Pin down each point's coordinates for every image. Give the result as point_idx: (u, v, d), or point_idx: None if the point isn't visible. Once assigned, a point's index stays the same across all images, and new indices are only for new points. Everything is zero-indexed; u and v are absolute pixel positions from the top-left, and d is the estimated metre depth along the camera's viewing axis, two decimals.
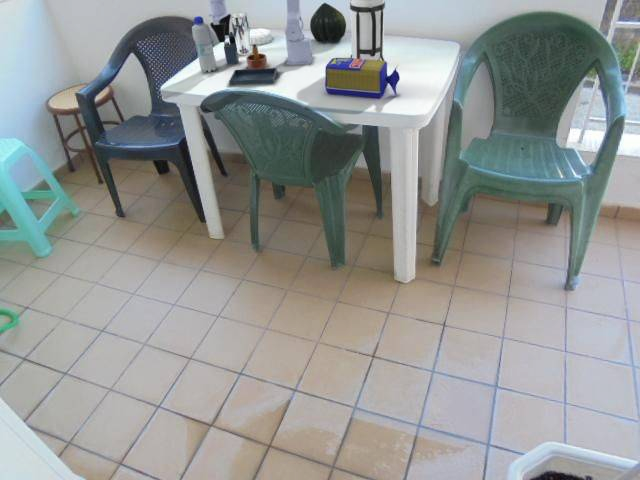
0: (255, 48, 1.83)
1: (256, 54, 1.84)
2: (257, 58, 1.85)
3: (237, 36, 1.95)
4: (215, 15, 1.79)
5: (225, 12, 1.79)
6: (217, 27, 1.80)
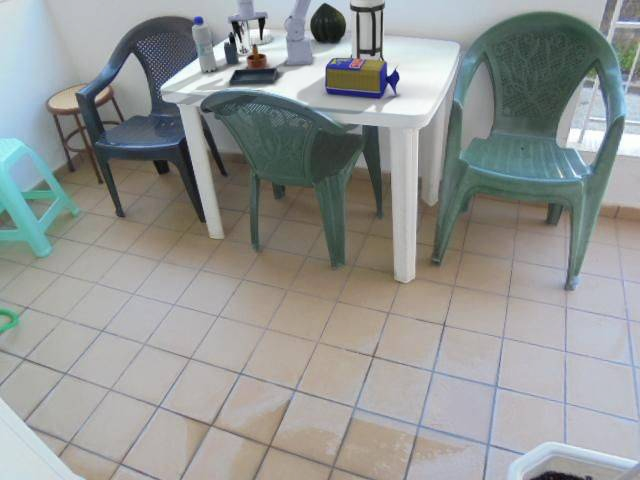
0: (255, 48, 1.83)
1: (256, 54, 1.84)
2: (257, 58, 1.85)
3: (237, 36, 1.95)
4: None
5: (244, 16, 1.74)
6: None
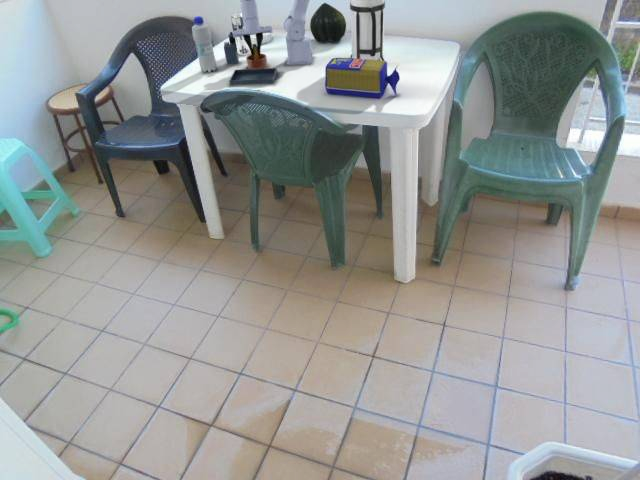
0: (255, 48, 1.83)
1: (256, 54, 1.84)
2: (257, 58, 1.85)
3: None
4: None
5: (249, 30, 1.77)
6: None
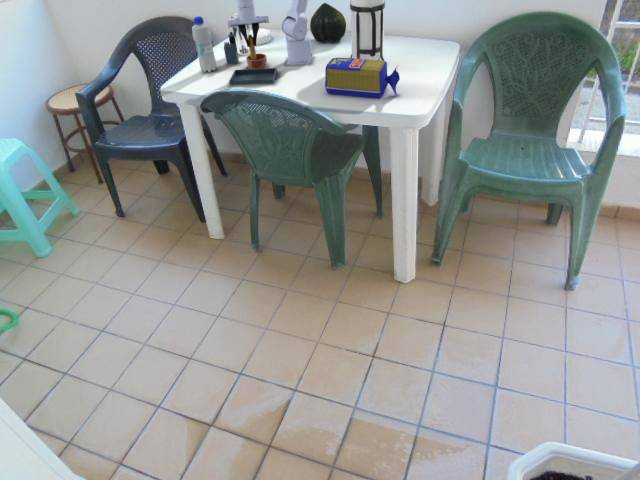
0: (251, 39, 1.75)
1: (252, 45, 1.76)
2: (253, 49, 1.77)
3: (237, 36, 1.95)
4: (239, 19, 1.72)
5: (244, 20, 1.69)
6: None
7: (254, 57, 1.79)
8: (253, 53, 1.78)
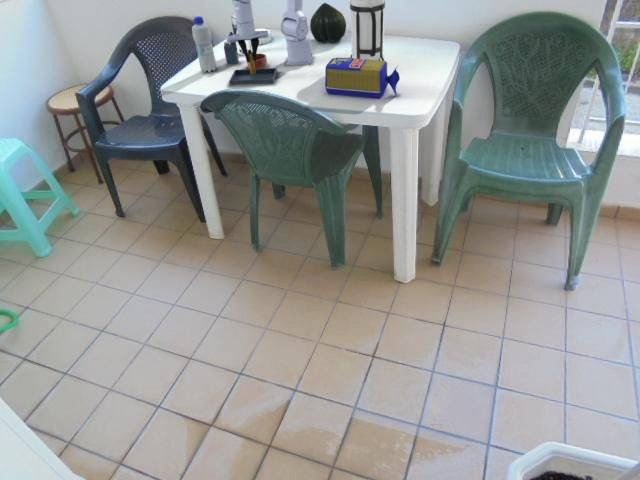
0: (250, 54, 1.73)
1: (252, 60, 1.74)
2: (253, 64, 1.75)
3: None
4: (239, 34, 1.69)
5: (244, 35, 1.67)
6: None
7: (254, 72, 1.77)
8: (253, 68, 1.76)
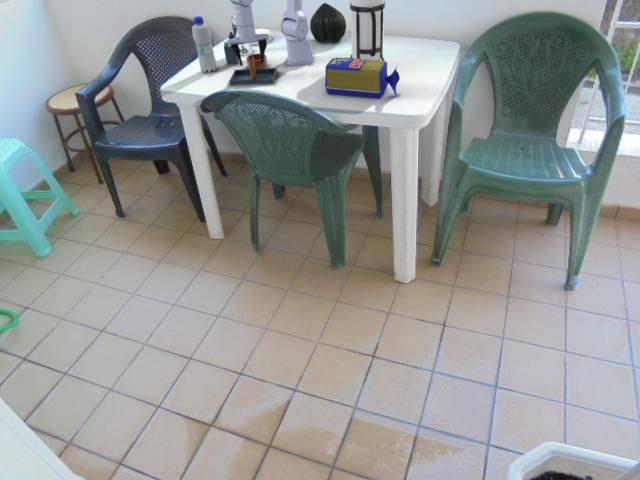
0: (251, 59, 1.74)
1: (252, 65, 1.75)
2: (253, 70, 1.76)
3: (237, 36, 1.95)
4: None
5: (245, 38, 1.67)
6: None
7: (255, 77, 1.78)
8: (254, 73, 1.77)
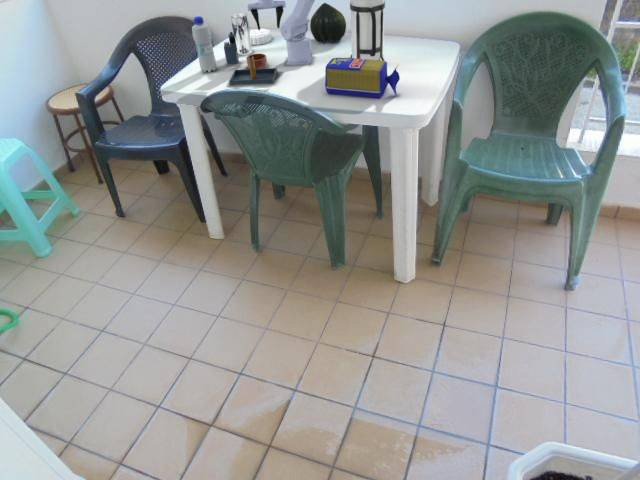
0: (251, 59, 1.74)
1: (252, 65, 1.75)
2: (253, 70, 1.76)
3: (237, 36, 1.95)
4: (258, 3, 1.85)
5: (264, 4, 1.83)
6: None
7: (255, 77, 1.78)
8: (254, 73, 1.77)
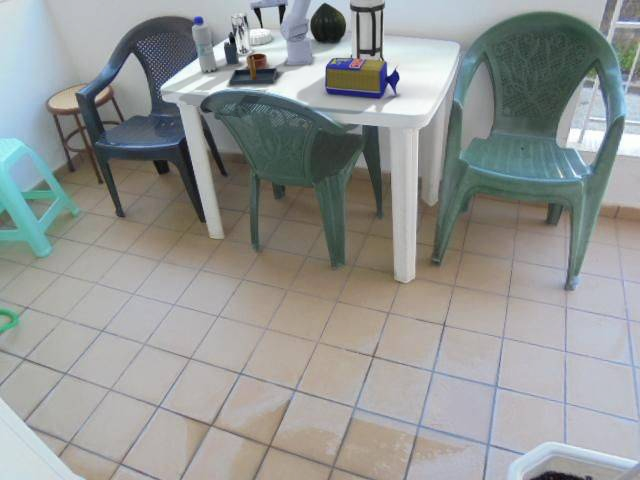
0: (251, 59, 1.74)
1: (252, 65, 1.75)
2: (253, 70, 1.76)
3: (237, 36, 1.95)
4: (261, 1, 1.87)
5: (266, 2, 1.84)
6: None
7: (255, 77, 1.78)
8: (254, 73, 1.77)
